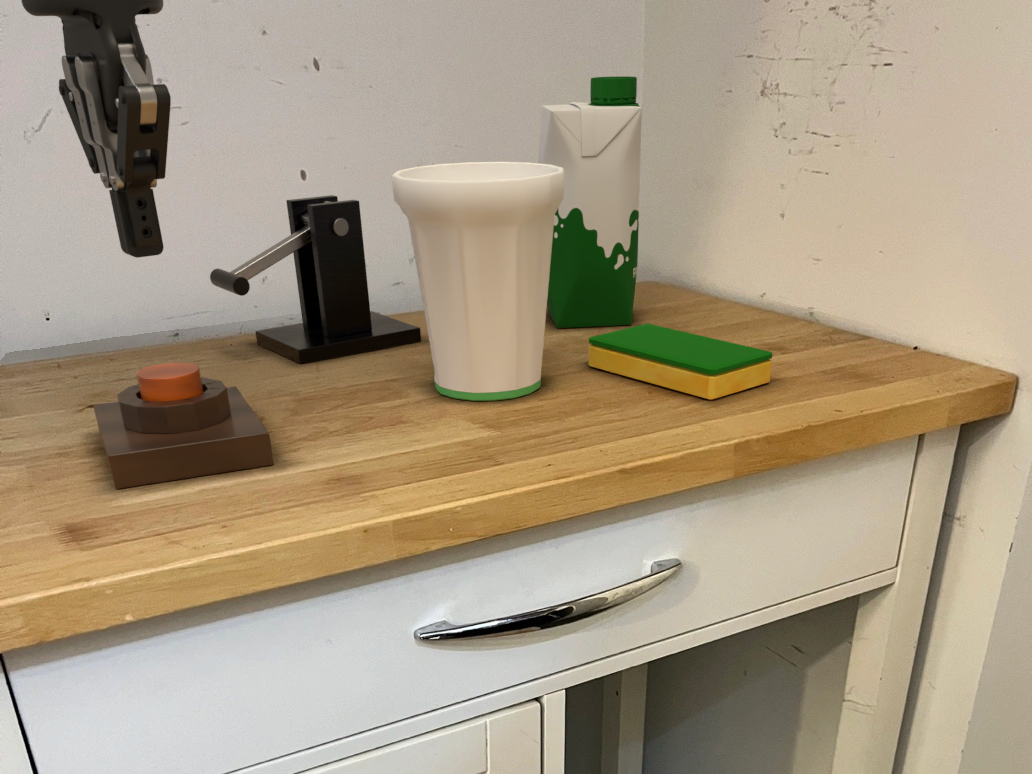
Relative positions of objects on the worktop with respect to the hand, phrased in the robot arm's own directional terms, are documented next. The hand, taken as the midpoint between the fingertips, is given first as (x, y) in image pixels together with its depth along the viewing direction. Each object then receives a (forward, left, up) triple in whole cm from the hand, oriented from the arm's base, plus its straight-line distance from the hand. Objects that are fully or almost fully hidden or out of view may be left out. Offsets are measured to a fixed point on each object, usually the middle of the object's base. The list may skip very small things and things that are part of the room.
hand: (143, 254), depth 68 cm
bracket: (-6, +29, -13) cm, 32 cm away
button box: (0, 0, -13) cm, 13 cm away
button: (0, 0, -9) cm, 9 cm away
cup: (+13, +21, -13) cm, 28 cm away
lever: (-8, +25, -5) cm, 27 cm away
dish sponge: (+26, +29, -13) cm, 41 cm away
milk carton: (+12, +45, -13) cm, 48 cm away
